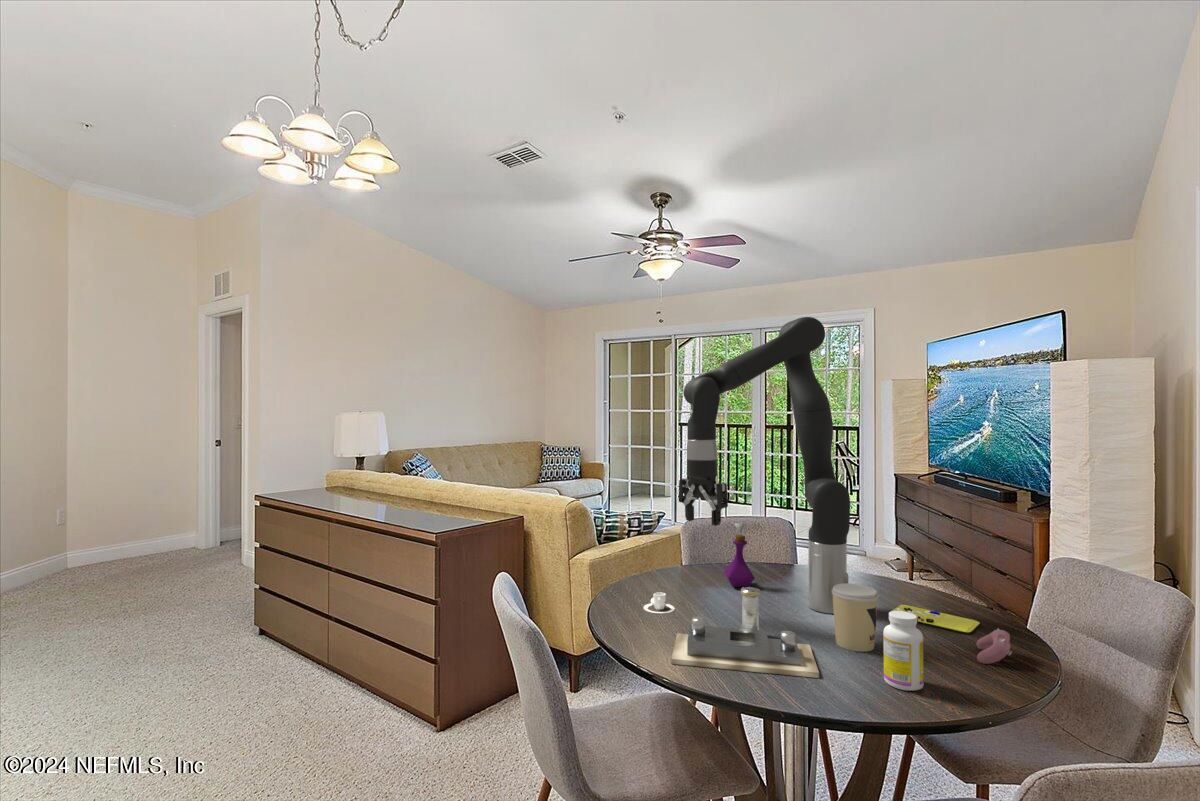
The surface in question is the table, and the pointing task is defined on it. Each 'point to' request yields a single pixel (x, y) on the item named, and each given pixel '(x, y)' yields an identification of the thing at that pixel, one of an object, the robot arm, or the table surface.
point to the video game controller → (994, 647)
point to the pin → (750, 608)
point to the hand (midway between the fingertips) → (702, 522)
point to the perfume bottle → (739, 563)
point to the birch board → (805, 670)
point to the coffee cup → (855, 616)
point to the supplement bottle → (903, 652)
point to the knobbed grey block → (741, 644)
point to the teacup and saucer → (658, 603)
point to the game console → (941, 620)
